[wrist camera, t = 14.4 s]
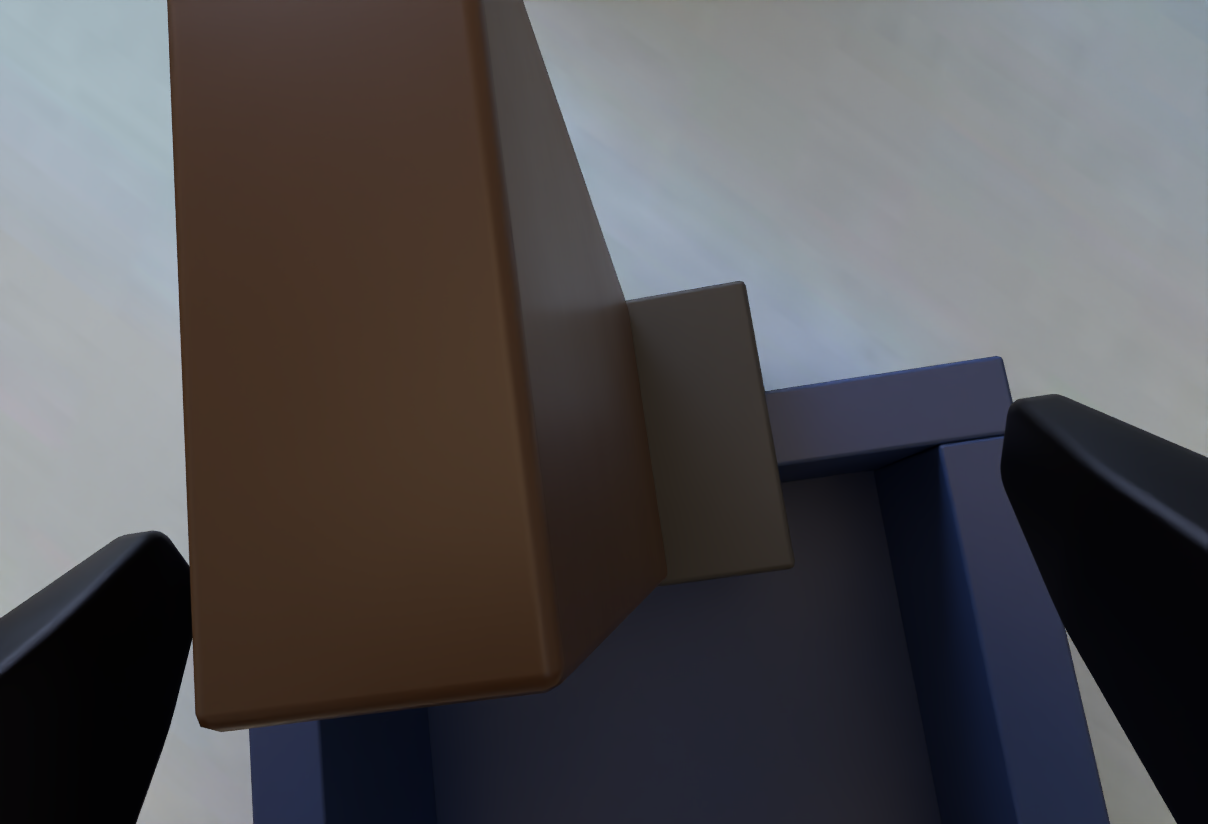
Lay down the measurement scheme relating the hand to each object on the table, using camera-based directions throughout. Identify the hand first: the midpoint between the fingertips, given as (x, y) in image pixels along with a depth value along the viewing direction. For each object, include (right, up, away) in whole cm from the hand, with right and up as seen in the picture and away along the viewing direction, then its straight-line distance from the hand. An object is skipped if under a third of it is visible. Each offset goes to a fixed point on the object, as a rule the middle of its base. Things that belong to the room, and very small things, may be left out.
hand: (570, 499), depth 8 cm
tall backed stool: (+1, 0, +7) cm, 7 cm away
